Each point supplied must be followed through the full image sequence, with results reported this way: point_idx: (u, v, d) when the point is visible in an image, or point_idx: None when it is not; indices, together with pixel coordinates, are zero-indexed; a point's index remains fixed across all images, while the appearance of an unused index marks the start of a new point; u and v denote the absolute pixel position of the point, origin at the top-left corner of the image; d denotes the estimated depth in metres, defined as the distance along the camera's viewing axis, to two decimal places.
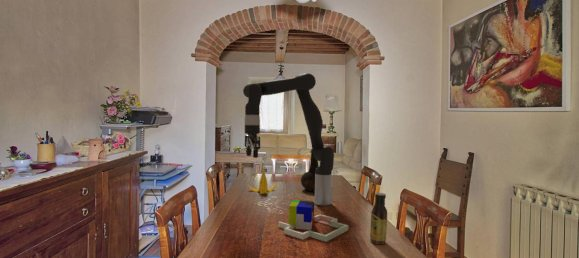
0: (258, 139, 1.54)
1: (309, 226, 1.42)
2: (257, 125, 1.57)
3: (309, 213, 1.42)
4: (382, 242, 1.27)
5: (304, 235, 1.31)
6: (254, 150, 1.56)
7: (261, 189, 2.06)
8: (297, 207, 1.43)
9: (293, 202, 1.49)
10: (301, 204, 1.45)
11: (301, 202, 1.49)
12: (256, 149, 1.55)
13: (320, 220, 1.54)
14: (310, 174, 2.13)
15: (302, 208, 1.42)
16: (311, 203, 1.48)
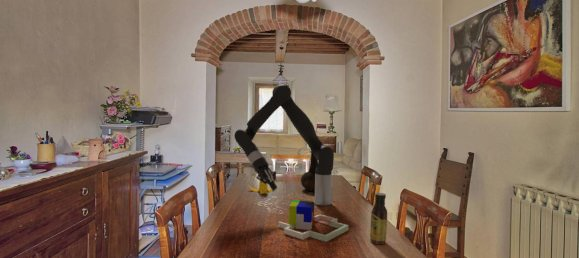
0: (259, 177, 1.56)
1: (309, 226, 1.42)
2: (254, 161, 1.61)
3: (309, 213, 1.42)
4: (382, 242, 1.27)
5: (304, 235, 1.31)
6: None
7: (261, 189, 2.06)
8: (297, 207, 1.43)
9: (293, 202, 1.49)
10: (301, 204, 1.45)
11: (301, 202, 1.49)
12: (268, 183, 1.58)
13: (320, 220, 1.54)
14: (310, 174, 2.13)
15: (302, 208, 1.42)
16: (311, 203, 1.48)
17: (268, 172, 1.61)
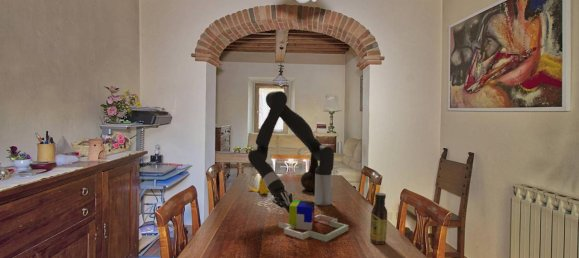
0: (276, 201, 1.50)
1: (309, 226, 1.42)
2: (270, 184, 1.55)
3: (309, 213, 1.42)
4: (382, 242, 1.27)
5: (304, 235, 1.31)
6: (286, 208, 1.52)
7: (261, 189, 2.06)
8: (297, 207, 1.42)
9: (293, 202, 1.49)
10: (302, 205, 1.45)
11: (301, 202, 1.49)
12: (284, 206, 1.51)
13: (320, 220, 1.54)
14: (310, 174, 2.13)
15: (302, 208, 1.42)
16: (311, 203, 1.48)
17: (284, 195, 1.54)
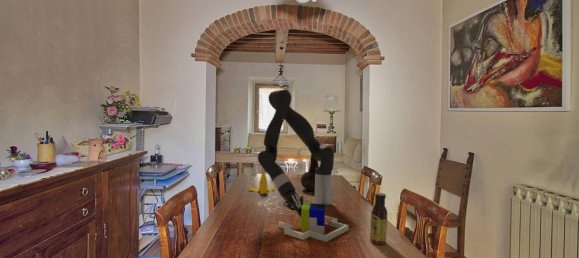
0: (287, 204, 1.45)
1: (322, 230, 1.38)
2: (280, 186, 1.50)
3: (322, 216, 1.37)
4: (382, 242, 1.27)
5: (304, 235, 1.31)
6: (297, 211, 1.48)
7: (261, 189, 2.06)
8: (310, 210, 1.38)
9: (304, 205, 1.44)
10: (313, 207, 1.41)
11: (312, 205, 1.45)
12: (296, 209, 1.47)
13: None
14: (310, 174, 2.13)
15: (315, 211, 1.38)
16: (323, 206, 1.44)
17: (295, 198, 1.50)
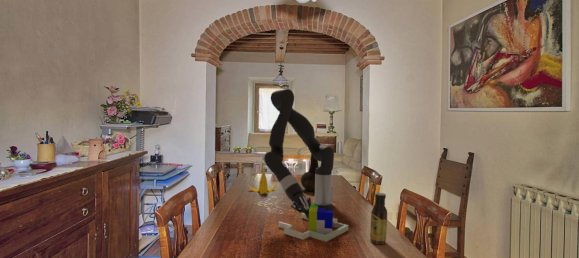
0: (295, 206, 1.43)
1: None
2: (288, 187, 1.48)
3: (330, 219, 1.34)
4: (382, 242, 1.27)
5: (304, 235, 1.31)
6: None
7: (261, 189, 2.06)
8: (318, 212, 1.35)
9: (312, 207, 1.41)
10: (321, 210, 1.38)
11: (320, 207, 1.42)
12: (303, 212, 1.44)
13: None
14: (310, 174, 2.13)
15: (323, 214, 1.35)
16: (331, 208, 1.41)
17: (303, 199, 1.47)
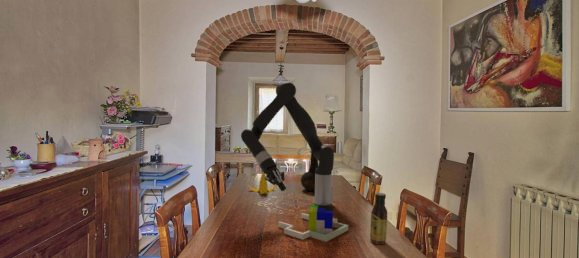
0: (268, 178, 1.53)
1: None
2: (262, 162, 1.57)
3: (330, 219, 1.34)
4: (382, 242, 1.27)
5: (304, 235, 1.31)
6: None
7: (261, 189, 2.06)
8: (318, 212, 1.35)
9: (312, 207, 1.41)
10: (321, 210, 1.38)
11: (320, 207, 1.42)
12: (276, 184, 1.54)
13: None
14: (310, 174, 2.13)
15: (323, 214, 1.35)
16: (331, 208, 1.41)
17: (276, 173, 1.57)
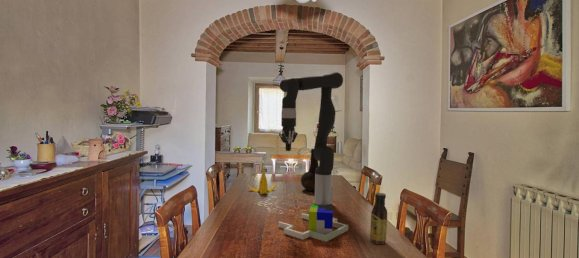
0: (282, 136, 1.62)
1: None
2: (285, 118, 1.62)
3: (330, 219, 1.34)
4: (382, 242, 1.27)
5: (304, 235, 1.31)
6: (286, 143, 1.66)
7: (261, 189, 2.06)
8: (318, 212, 1.35)
9: (312, 207, 1.41)
10: (321, 210, 1.38)
11: (320, 207, 1.42)
12: (285, 143, 1.65)
13: None
14: (310, 174, 2.13)
15: (323, 214, 1.35)
16: (331, 208, 1.41)
17: (291, 133, 1.66)
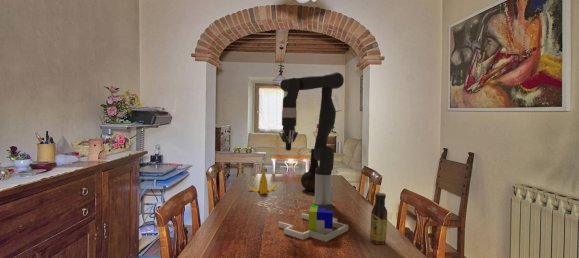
0: (282, 135, 1.62)
1: None
2: (286, 117, 1.62)
3: (330, 219, 1.34)
4: (382, 242, 1.27)
5: (304, 235, 1.31)
6: (286, 143, 1.66)
7: (261, 189, 2.06)
8: (317, 212, 1.35)
9: (312, 207, 1.41)
10: (321, 210, 1.38)
11: (320, 207, 1.42)
12: (285, 142, 1.65)
13: None
14: (310, 174, 2.13)
15: (323, 214, 1.35)
16: (331, 208, 1.41)
17: (291, 133, 1.66)
